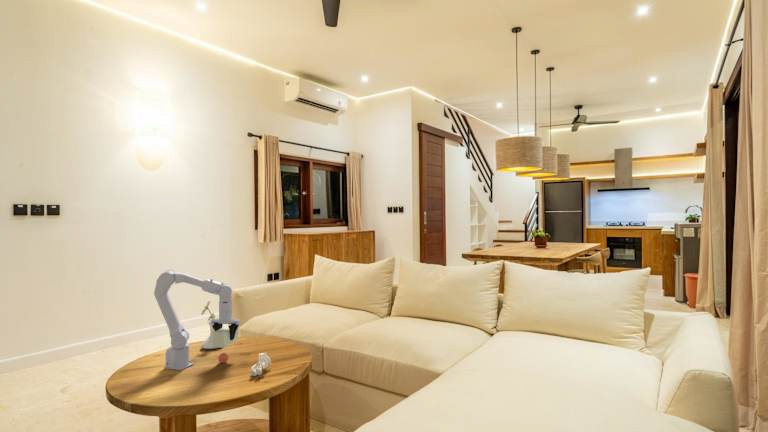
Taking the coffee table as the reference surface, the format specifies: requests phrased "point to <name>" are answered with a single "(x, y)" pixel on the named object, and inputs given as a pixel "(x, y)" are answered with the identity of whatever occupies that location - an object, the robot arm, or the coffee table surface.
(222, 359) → the ball
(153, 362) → the coffee table surface
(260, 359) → the white lumpy piece
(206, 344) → the flower in vase
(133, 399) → the coffee table surface
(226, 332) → the pale green block
